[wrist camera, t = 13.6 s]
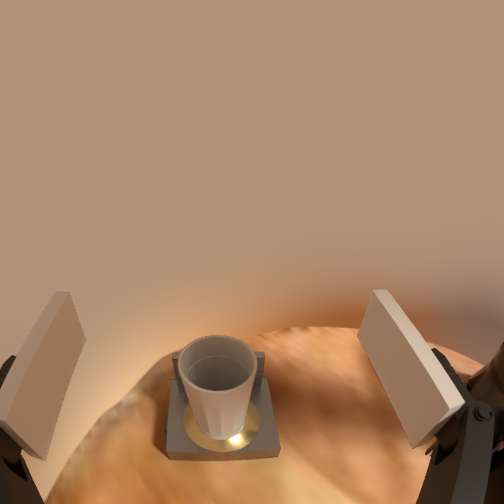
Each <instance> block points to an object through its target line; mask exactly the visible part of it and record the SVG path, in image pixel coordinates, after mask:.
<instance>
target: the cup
mask: <svg viewBox="0 0 504 504" xmlns="http://www.w3.org/2000/svg"><path fill="white" fill-rule="evenodd" d="M178 370H179V373H180V376H181V379H182V382H183V385H184V388H185V390H186V393H187V396H188V399H189V402H190V405H191V408H192V411H193V414H194V417H195V419H196V424H197V427H198V429H199V430H200V431H201V432H202V433H203V434H204V435H205V436H207V437H209V438H212V439H216V440H226V439H230V438H233V437H235V436H236V435H238V434H239V433H240V432H241V431H242V429H243V427H244V424H245V416H246V412H247V408H248V404H249V399H250V395H251V390H252V387H253V383H254V379H255V375H256V370H257V358H256V356H255V354H254V352H253V350H252V349H251V348H250V347H249V346H248V345H247V344H245V343H244V342H242V341H240V340H238V339H236V338H233V337H229V336H222V335H211V336H205V337H201V338H199V339H196V340H194V341H192V342H191V343H189V344H188V345H187V346H186V347H185V348H184V349H183V350H182V352H181V353H180V355H179V358H178Z"/></svg>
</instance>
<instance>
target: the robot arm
mask: <svg viewBox="0 0 504 504" xmlns="http://www.w3.org/2000/svg"><path fill="white" fill-rule="evenodd" d="M357 337H358V339H359V341H360V343H361V344H362V346H363V348H364V350H365V352H366V354H367V356H368V358H369V360H370V362H371V364H372V366H373V368H374V370H375V372H376V374H377V376H378V378H379V380H380V382H381V384H382V386H383V388H384V390H385V392H386V394H387V396H388V398H389V400H390V402H391V404H392V406H393V408H394V410H395V412H396V414H397V417H398V419H399V421H400V423H401V425H402V427H403V429H404V432H405V434H406V436H407V438H408V440H409V443H410V445H411V447H412V449H413V448H416V447H418V446H421V445H423V444H426V443H428V442H429V441H430V440H431V439H432V438H433V437H434V436H435V435H436V437H437V439H438V440H437V441H436V442H435V443H434V444H433V445H432V446H431V447H430V448H429V449H427V451H426V453H425V455H427V454H429V453H430V452H431V451H432V450H433V452H432V454H431V455H430V456H431V459H430V463H429V466H428V469H427V473H426V476H425V479H424V482H423V485H422V488H421V491H420V494H419V497H418V499H417V502H416V504H504V448H503V449H502V450H500V449H499V445H500V444H501V443H502V442H504V342H503V343H502V345H501V347H500V348H499V350H498V351H497V353H496V354H495V356H494V358H493V359H492V360H491V362H490V363H488V364H487V365H486V366H484V367H483V368H482V369H480V370H479V371H478V372H476V373H475V374H473V375H472V376H471V377H470V378H469V379H468V380H467V381H466V383H465V384H463V382H462V381H461V379H460V378H459V376H458V375H457V374H456V373H455V370H454V369H453V367H452V366H451V364H450V363H449V361H448V360H447V358H446V357H445V356H444V355H443V354H442V353H441V352H439V351H438V350H437V349H436V348H433V349H430V348H429V346H428V345H427V343H426V342H425V341H424V339H423V338H422V336H421V335H420V334H419V332H418V331H417V329H416V328H415V327H414V325H413V324H412V323H411V321H410V320H409V319H408V317H407V316H406V314H405V313H404V312H403V310H402V309H401V308H400V306H399V305H398V304H397V302H396V301H395V300H394V299H393V297H392V296H391V295H390V293H389V292H388V291H387V290H373V291H372V294H371V298H370V300H369V303H368V307H367V309H366V312H365V315H364V318H363V321H362V324H361V327H360V329H359V332H358V335H357ZM85 340H86V338H85V335H84V333H83V330H82V327H81V324H80V322H79V319H78V316H77V313H76V310H75V307H74V304H73V301H72V298H71V295H70V292H59V291H56V292H55V293H54V295H53V296H52V298H51V299H50V301H49V303H48V304H47V305H46V307H45V309H44V310H43V312H42V313H41V315H40V317H39V318H38V320H37V322H36V323H35V325H34V326H33V328H32V330H31V332H30V333H29V335H28V337H27V339H26V340H25V342H24V344H23V346H22V347H21V349H20V351H19V353H18V355H17V356H13V355H12V356H11V357H10V358H9V359H8V360H7V361H5V363H4V364H3V365H2V367H1V369H0V504H45V503H44V501H43V499H42V498H41V496H40V494H39V492H38V490H37V487H36V485H35V483H34V481H33V479H32V477H31V474H30V472H29V470H28V468H27V465H26V463H25V460H24V459H23V457H22V455H21V454H20V453H21V450H22V449H23V450H24V451H25V452H26V453H28V454H29V455H30V456H32V457H35V458H38V459H41V460H44V461H46V458H47V454H48V450H49V446H50V443H51V439H52V435H53V432H54V428H55V425H56V422H57V418H58V415H59V412H60V409H61V406H62V402H63V400H64V396H65V393H66V391H67V388H68V385H69V382H70V379H71V376H72V374H73V371H74V369H75V366H76V363H77V361H78V358H79V355H80V353H81V350H82V348H83V345H84V343H85Z"/></svg>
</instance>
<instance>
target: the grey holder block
mask: <svg viewBox="0 0 504 504" xmlns="http://www.w3.org/2000/svg"><path fill="white" fill-rule="evenodd" d="M254 354H255V356H256V358H257V370H256V375H255V379H254V383H253V387H252V390H251V395H250V399H249V404H248V408H247V412H246V416H245V424H244V427H243V429H242V431H241V432H240V433H239V434H238V435H236V436H235V437H233V438H230V439H226V440H216V439H212V438H209V437H207V436H205V435H204V434H203V433H202V432H201V431H200V430H199V429H198V427H197V424H196V419H195V417H194V414H193V411H192V408H191V405H190V402H189V399H188V396H187V393H186V390H185V388H184V385H183V382H182V379H181V376H180V373H179V370H178V358H179V355H180V353H173V356H172V360H173V365H174V370H175V375H176V380H175V379H171V387H170V399H169V411H168V413H167V412H166V425H165V432H166V434H167V441H166V453H167V455H168V457H169V459H170V460H188V461H229V460H249V459H262V458H273V457H278V455H279V452H280V449H281V447H280V442H279V437H278V432H277V427H276V422H275V416H274V411H273V406H272V401H271V396H270V390H269V385H268V380H267V378H262V376H263V369H264V361H265V354H264V352H254Z"/></svg>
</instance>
